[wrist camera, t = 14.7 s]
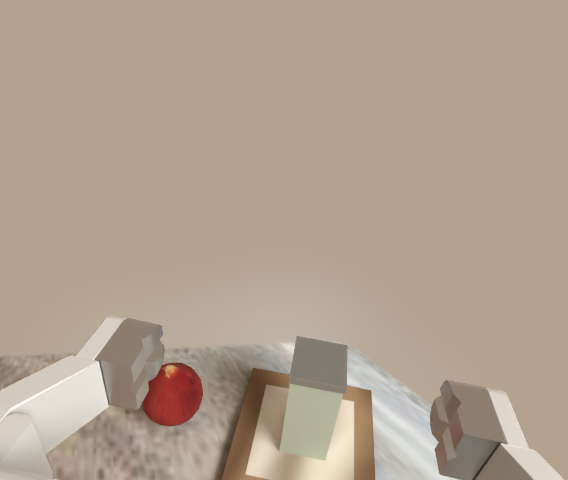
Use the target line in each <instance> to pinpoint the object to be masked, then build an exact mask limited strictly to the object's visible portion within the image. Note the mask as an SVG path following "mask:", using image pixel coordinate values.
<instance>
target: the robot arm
mask: <svg viewBox="0 0 568 480" xmlns="http://www.w3.org/2000/svg"><path fill="white" fill-rule="evenodd" d="M162 335H163V331H162V326H160V325H157V324H153V323H148V322H143V321H139V320H134V319H130V318H124V317H120V316H115V315H110V316H108V317H107V318H106V319H105V320H104V321H103V322H102V324H101V325H100V326H99V327H98V329H97V330H96V331H95V332H94V333H93V335H92V336H91V337H90V338H89V340H88V341H87V342H86V344H85V345H84V346H83V347H82V348H81V350H80V351H79V352H78V353H77V354H76V356H72V355H70V356H68V357H66V358H64V359H62V360H60V361H58V362H56V363H54V364H52V365H50V366H48V367H46V368H44V369H42V370H40V371H38V372H36V373H34V374H32V375H30V376H28V377H26V378H24V379H22V380H20V381H18V382H16V383H14V384H12V385H10V386H8V387H6V388H4V389H2V390H0V480H59V479H55V478H52V476H53V469H52V467H51V464H50V462H49V460H48V457H47V455H46V454H47V453H48V452H49V451H50V450H52V449H53V448H54V447H56V446H57V445H58V444H60V443H61V442H62V441H64V440H65V439H66V438H68V437H69V436H70V435H72V434H73V433H74V432H76V431H77V430H78V429H80V428H81V427H82V426H84V425H85V424H86V423H88V422H89V421H90V420H92V419H93V418H94V417H96V416H97V415H98V414H100V413H101V412H102V411H104V410H105V409H106V408H108V407H109V405H112V406H118V407H123V408H129V409H134V410H138V409H139V407H140V406H141V404H142V402H143V400H144V398H145V396H146V395H147V393H148V391H149V386H148V382H149V381H150V380H152V379H154V378H155V377H156V376H157V374H158V372H159V370H160V368H161V365H162V362H163V358H164V345H163V344H162V342H161V341H160V338H161V337H162ZM440 390H441V395H442V396H440V397H438V398H436V399H435V400H434V402H433V405H432V407H431V414H430V425H431V431H432V434H433V436H434V437H435V438H436V439H437V441H438V442H439V443H438V444H437V446H436V448H435V453H436V458H437V464H438V469H439V474H440V475H444V476H448V477H453V478H457V479H461V480H564V479H563V478H562V477H561V476H560V475H559V474H558V473H557V472H556V471H555V470H554V469H553V468H552V467H551V466H550V465H549V464H548V463H547V462H546V461H545V460H544V459H543V458H542V457H541V456H540V455H539V454H538V453H537V452H536V451H535V450H532V449H529V448H528V445H527V443H526V440H525V438H524V435H523V433H522V430H521V428H520V425H519V423H518V421H517V418H516V416H515V413H514V411H513V408H512V406H511V403H510V401H509V398H508V396H507V394H506V393H505V392H504V391H501V390H496V389H491V388H486V387H481V386H476V385H470V384H465V383H459V382H453V381H448V380H446V381H445V382H443V384H442V386H441V388H440Z"/></svg>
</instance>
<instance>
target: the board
mask: <svg viewBox="0 0 568 480" xmlns="http://www.w3.org/2000/svg"><path fill="white" fill-rule="evenodd" d="M289 378H290V375H288V374H283V373H278V372H272V371H267V370H262V369H257V368H253V370H252V374H251V377H250V381H249V384H248V388H247V391H246V395H245V398H244V402H243V405H242V409H241V412H240V416H239V419H238V423H237V426H236V430H235V434H234V437H233V441H232V444H231V448H230V451H229V455H228V458H227V462H226V465H225V469H224V472H223V476H222V479H221V480H375V464H374V442H373V419H372V397H371V390H366V389H361V388H356V387H350V386H347V388H346V392H345V394H343V397H342V401H341V405H340V409H339V412H338V416H337V420H336V423H335V427H334V431H333V434H332V438H331V442H330V445H329V449H328V453H327V456H326V460H325V461H323V460H318V459H314V458H309V457H304V456H299V455H295V454H290V453H285V452H280V451H279V450H280V444H281V437H282V431H283V425H284V418H285V412H286V405H287V399H288V392H289V386H290V384H289Z"/></svg>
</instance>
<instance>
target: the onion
mask: <svg viewBox="0 0 568 480" xmlns="http://www.w3.org/2000/svg"><path fill="white" fill-rule="evenodd" d="M148 386H149V391H148V393H147V395H146V396H145V398H144V400H143V408H144V411H145V413H146V414H147V415H148V417H149V418H150V419H151V420H152V421H154V422H156V423H158V424H160V425H164V426H175V425H181V424H182V423H184V422H186V421H188V420H189V419H191V418H192V417H193V415H194V414H195V413H196V412H197V410H198V409H199V407H200V404H201V401H202V396H203V390H202V383H201V379H200V378H199V376H198V375H197V374H196V372H195V371H194V370H193V369H192V368H191V367H189V366H187V365H185V364H183V363H169V364H165V365H163V366H161V368H160V370H159V372H158V374H157V376H156V377H155V378H154V379H152V380H150V381H149V382H148Z"/></svg>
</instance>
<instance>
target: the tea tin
mask: <svg viewBox="0 0 568 480" xmlns="http://www.w3.org/2000/svg"><path fill="white" fill-rule="evenodd" d="M289 384H290V386H289V392H288V399H287V405H286V412H285V418H284V425H283V431H282V437H281V444H280V450H279V451H280V452H285V453H290V454H295V455H299V456H304V457H309V458H314V459H318V460H323V461H325V460H326V456H327V453H328V449H329V445H330V442H331V438H332V434H333V431H334V427H335V423H336V420H337V416H338V412H339V409H340V405H341V401H342V397H343V394H345V392H346V388H347V345H343V344H337V343H332V342H326V341H321V340H315V339H310V338H305V337H299V336H297V338H296V344H295V349H294V355H293V361H292V366H291V372H290V378H289Z"/></svg>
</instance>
